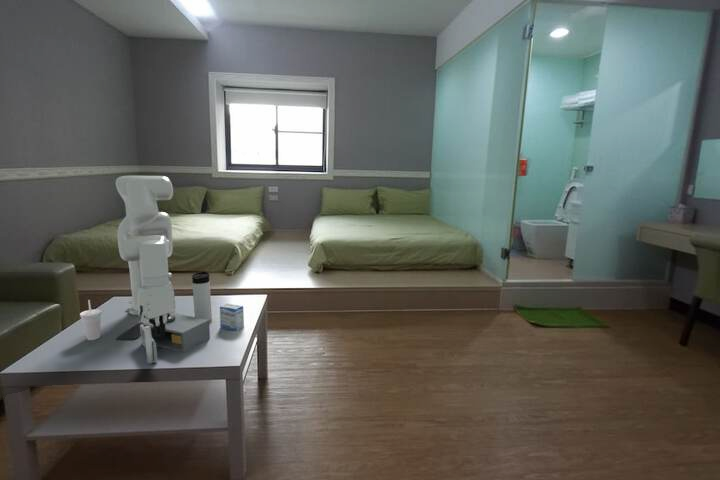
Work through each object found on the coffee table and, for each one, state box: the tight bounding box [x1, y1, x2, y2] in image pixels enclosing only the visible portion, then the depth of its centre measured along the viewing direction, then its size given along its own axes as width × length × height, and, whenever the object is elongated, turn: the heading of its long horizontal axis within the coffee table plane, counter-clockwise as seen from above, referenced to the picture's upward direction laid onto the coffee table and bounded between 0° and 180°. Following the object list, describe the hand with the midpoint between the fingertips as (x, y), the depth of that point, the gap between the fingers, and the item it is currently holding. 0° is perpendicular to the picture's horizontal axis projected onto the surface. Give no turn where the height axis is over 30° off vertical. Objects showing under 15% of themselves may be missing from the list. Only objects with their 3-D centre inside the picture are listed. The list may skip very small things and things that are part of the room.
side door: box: [140, 325, 158, 364], centre depth 127 cm, size 18×3×12 cm, turn 41°
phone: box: [115, 322, 144, 341], centre depth 145 cm, size 7×1×15 cm
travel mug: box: [191, 270, 213, 324], centre depth 154 cm, size 6×7×20 cm
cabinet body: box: [143, 312, 211, 353], centre depth 138 cm, size 18×12×8 cm, turn 69°
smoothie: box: [79, 299, 103, 341], centre depth 138 cm, size 6×6×14 cm
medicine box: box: [219, 303, 245, 331], centre depth 150 cm, size 8×4×9 cm, turn 70°
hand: (160, 335), depth 124 cm, fingers closed
